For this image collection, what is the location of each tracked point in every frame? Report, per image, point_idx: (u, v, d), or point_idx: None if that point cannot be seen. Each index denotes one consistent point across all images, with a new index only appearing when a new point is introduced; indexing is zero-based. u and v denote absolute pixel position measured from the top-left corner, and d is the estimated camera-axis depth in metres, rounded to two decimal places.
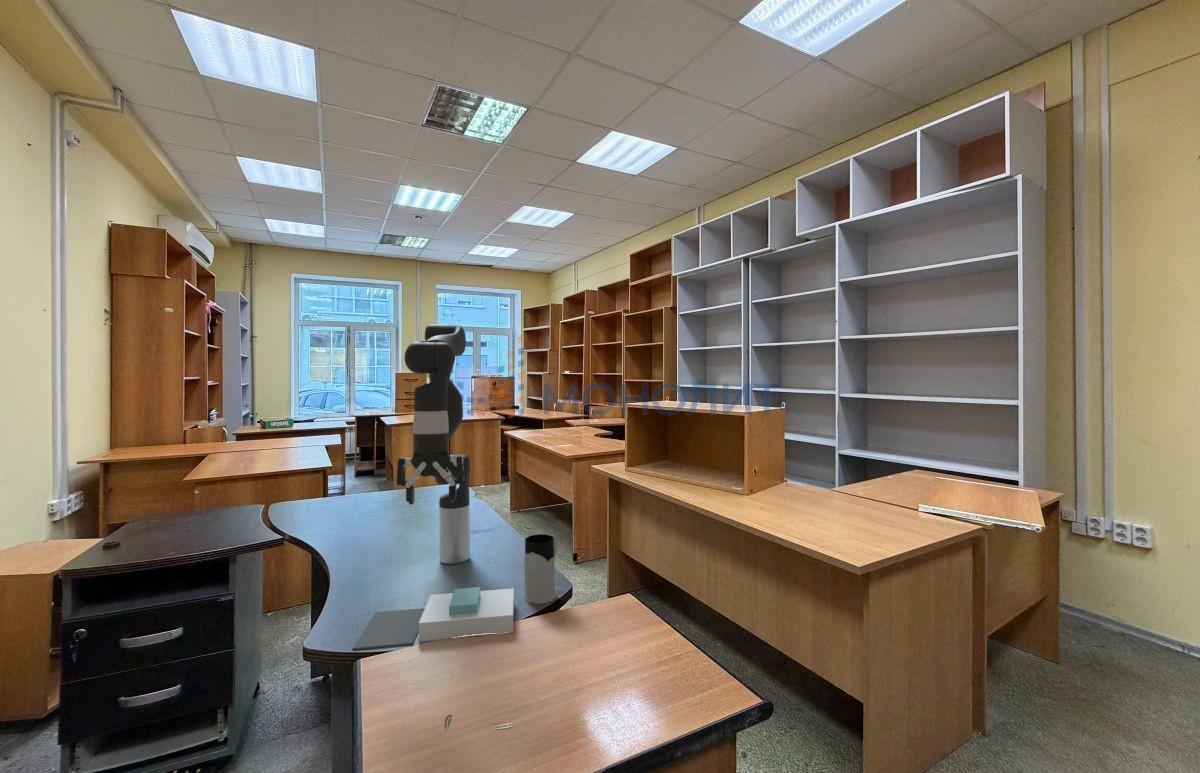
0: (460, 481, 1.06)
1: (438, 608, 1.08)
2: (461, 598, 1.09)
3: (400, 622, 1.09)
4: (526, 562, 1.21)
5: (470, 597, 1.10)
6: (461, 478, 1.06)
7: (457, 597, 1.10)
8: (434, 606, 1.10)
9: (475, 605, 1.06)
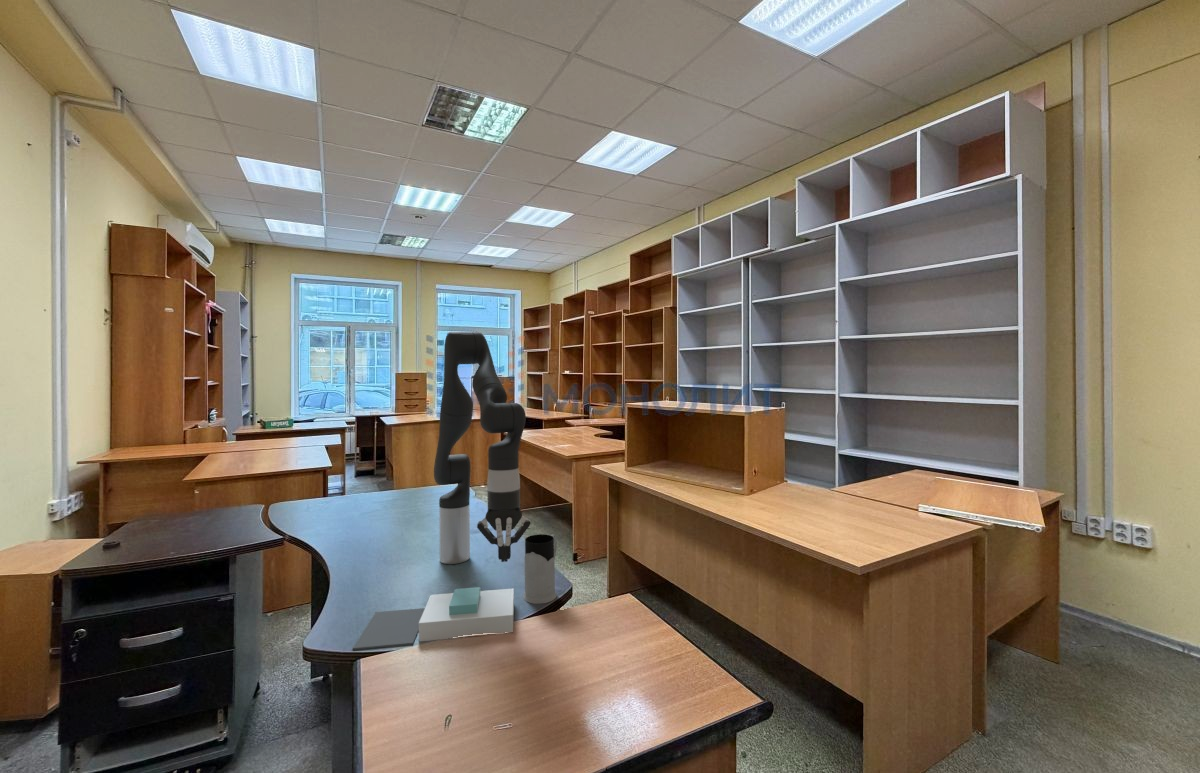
0: (514, 541, 1.11)
1: (438, 608, 1.08)
2: (461, 598, 1.09)
3: (400, 622, 1.09)
4: (526, 562, 1.21)
5: (470, 597, 1.10)
6: (516, 538, 1.11)
7: (457, 597, 1.10)
8: (434, 606, 1.10)
9: (475, 605, 1.06)
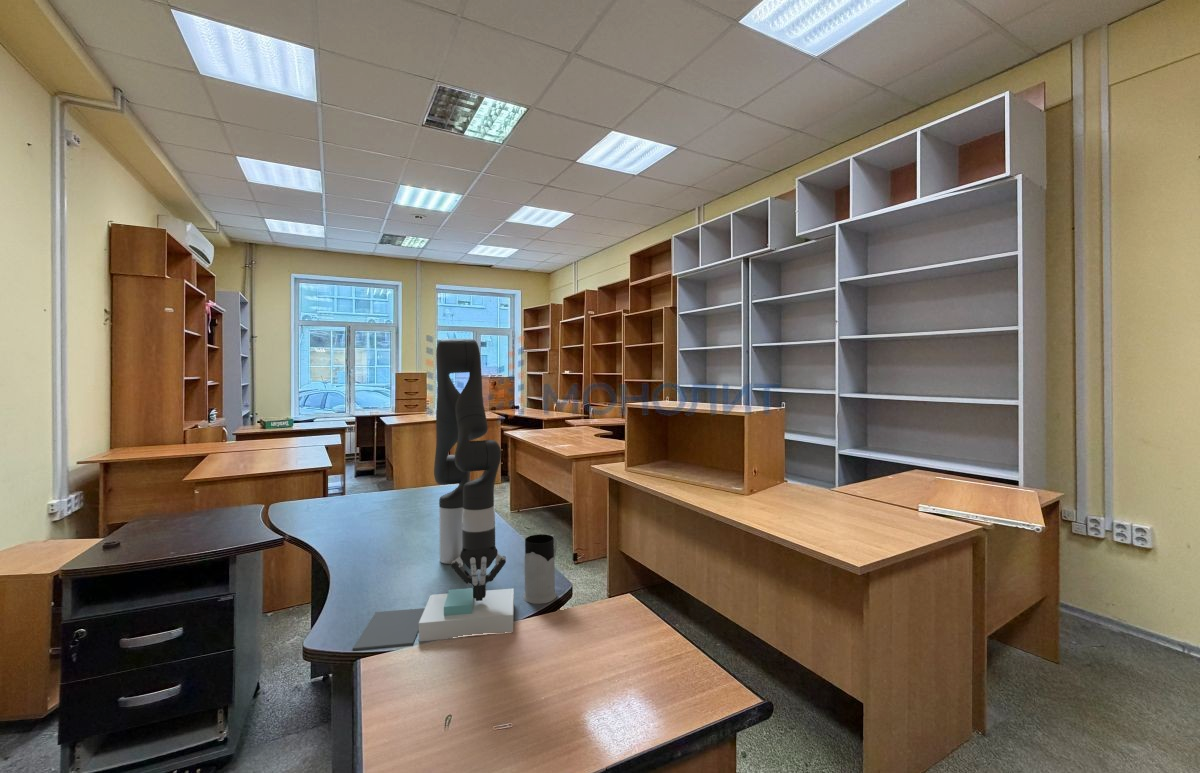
0: (489, 580, 1.10)
1: (438, 608, 1.08)
2: (456, 599, 1.09)
3: (400, 622, 1.09)
4: (526, 562, 1.21)
5: (465, 598, 1.09)
6: (491, 577, 1.10)
7: (451, 598, 1.09)
8: (434, 606, 1.10)
9: (470, 606, 1.06)
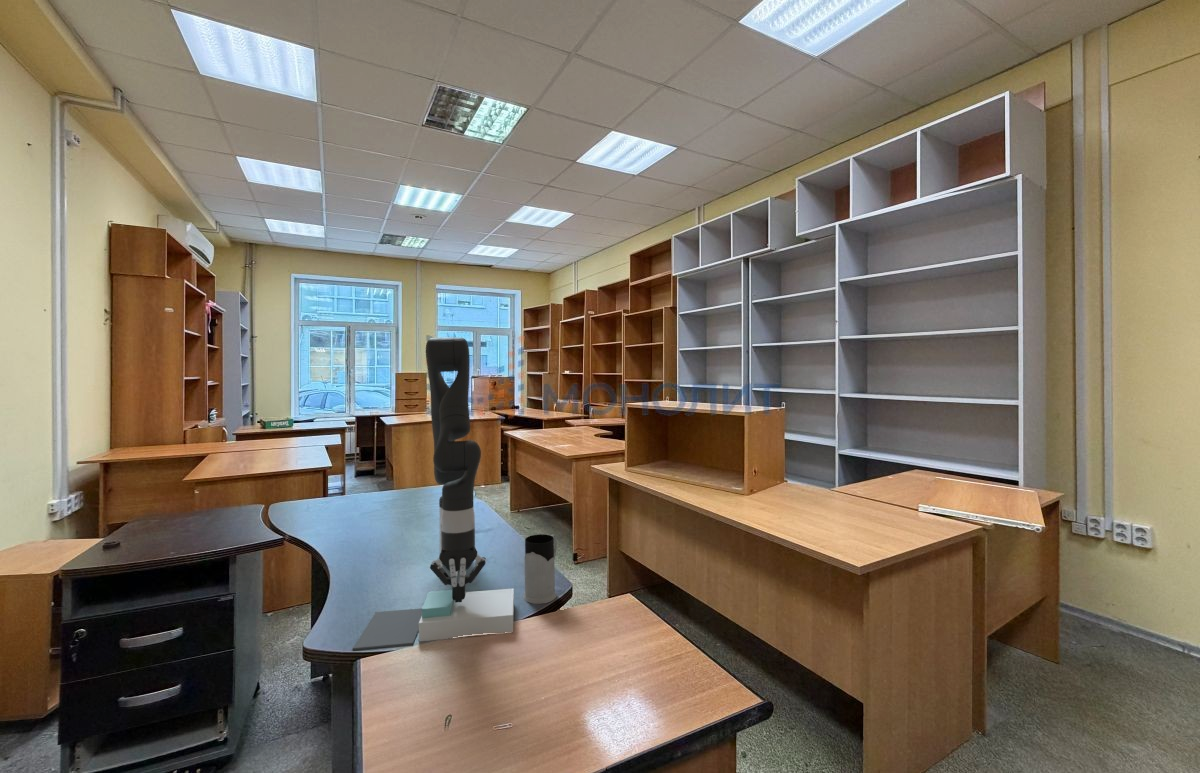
0: (469, 581, 1.09)
1: None
2: (434, 601, 1.08)
3: (400, 622, 1.09)
4: (526, 562, 1.21)
5: (444, 600, 1.08)
6: (470, 578, 1.09)
7: (430, 600, 1.08)
8: None
9: (448, 608, 1.05)
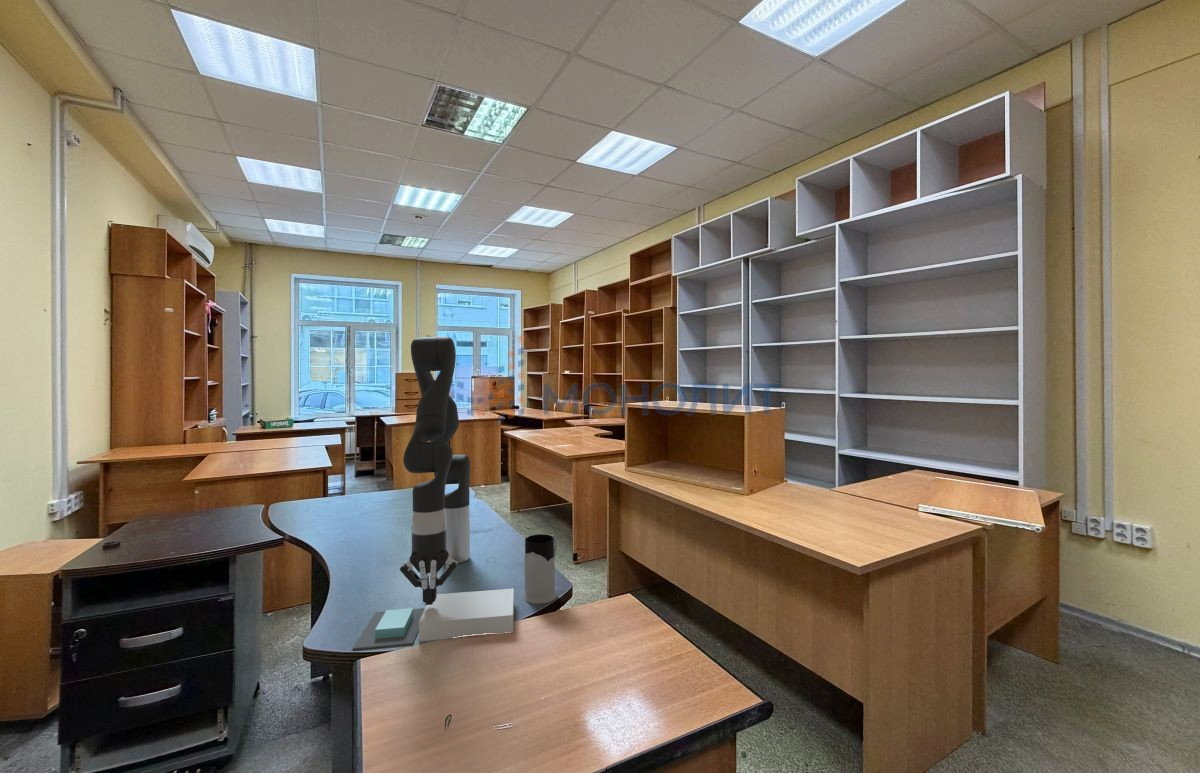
0: (439, 583, 1.08)
1: (438, 608, 1.08)
2: None
3: None
4: (526, 562, 1.21)
5: None
6: (441, 581, 1.08)
7: None
8: (434, 606, 1.10)
9: (376, 637, 1.02)
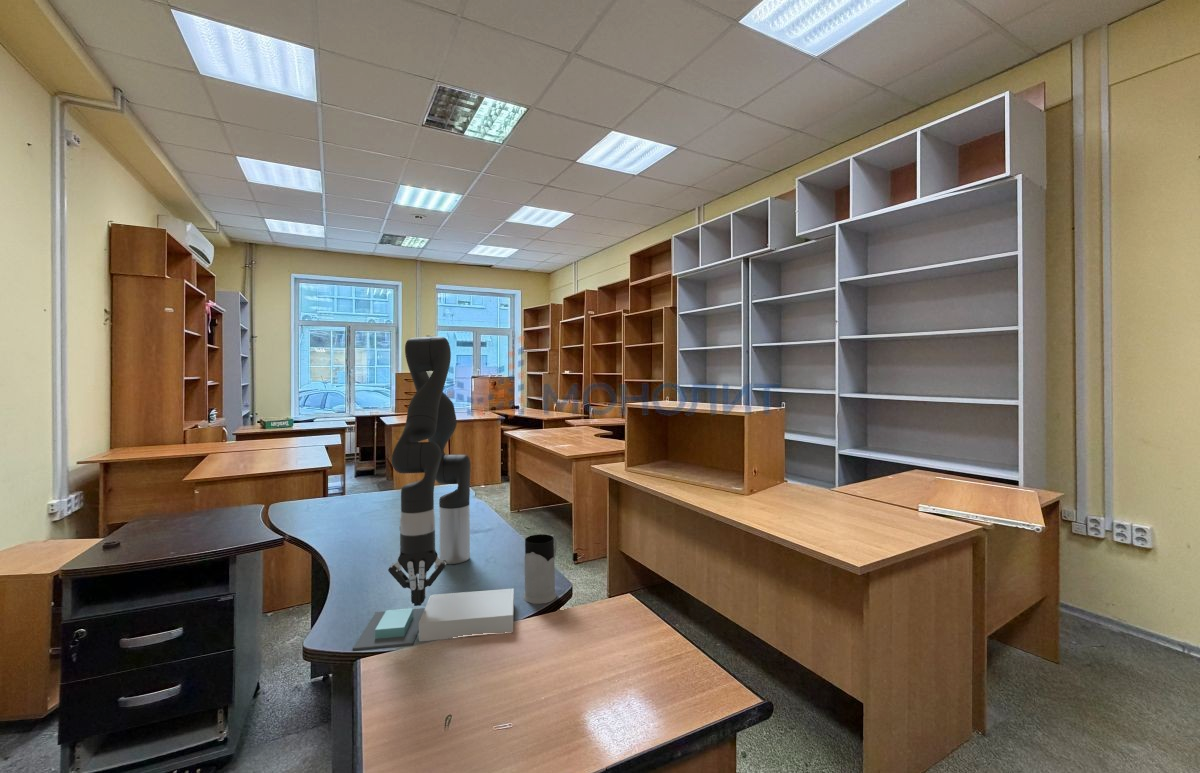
0: (428, 584, 1.08)
1: (438, 608, 1.08)
2: None
3: None
4: (526, 562, 1.21)
5: None
6: (430, 581, 1.08)
7: None
8: (434, 606, 1.10)
9: (376, 637, 1.02)
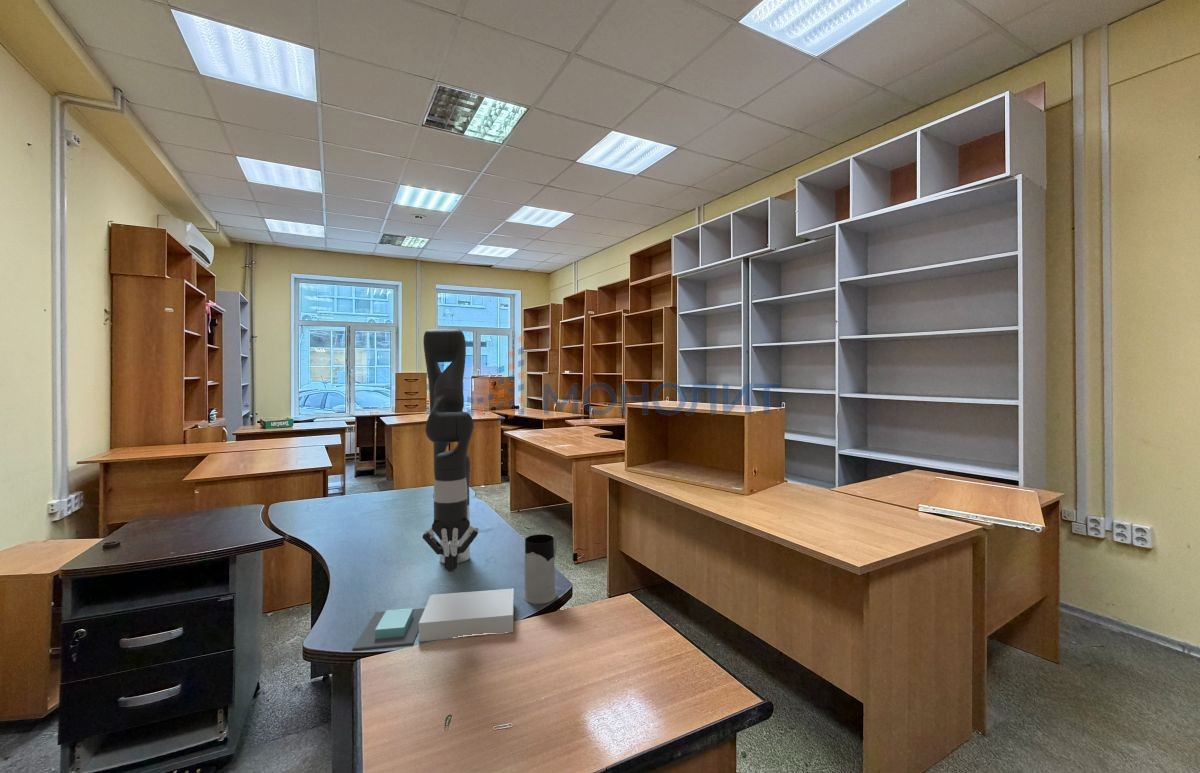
0: (461, 551, 1.10)
1: (438, 608, 1.08)
2: None
3: None
4: (526, 562, 1.21)
5: None
6: (463, 548, 1.10)
7: None
8: (434, 606, 1.10)
9: (376, 637, 1.02)
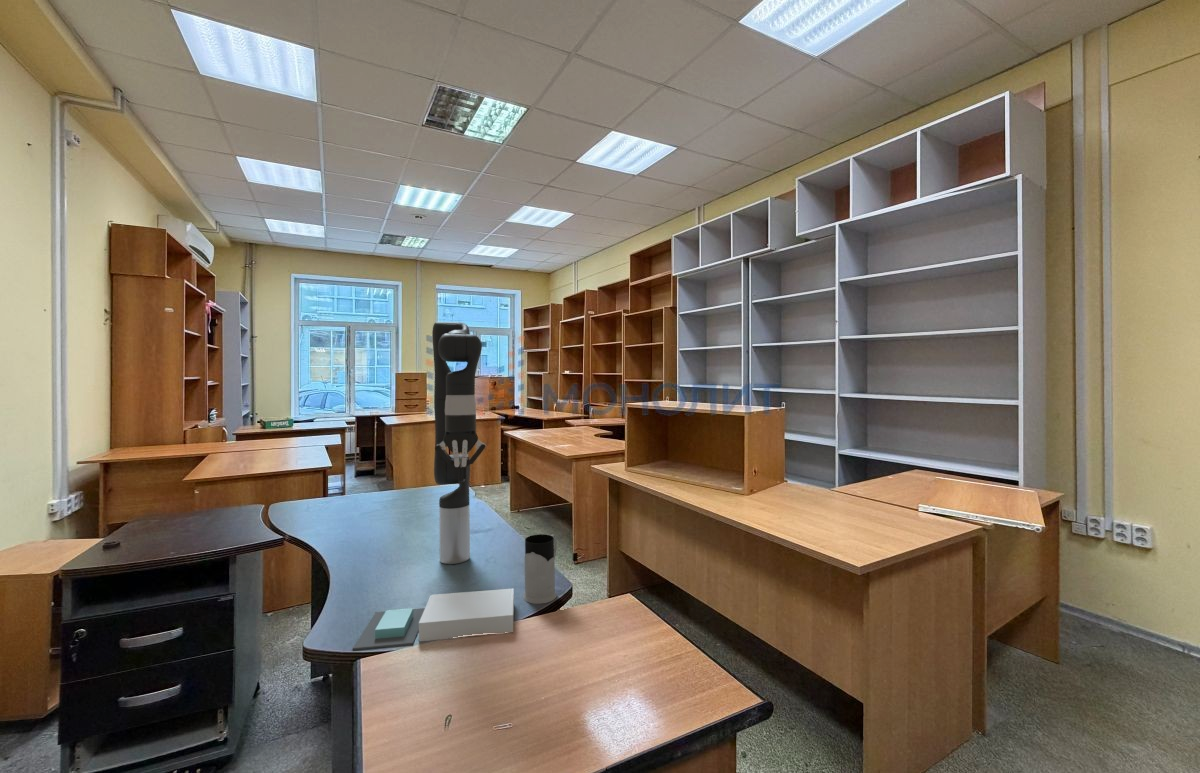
0: (470, 462, 1.19)
1: (438, 608, 1.08)
2: None
3: None
4: (526, 562, 1.21)
5: None
6: (472, 460, 1.19)
7: None
8: (434, 606, 1.10)
9: (376, 637, 1.02)
